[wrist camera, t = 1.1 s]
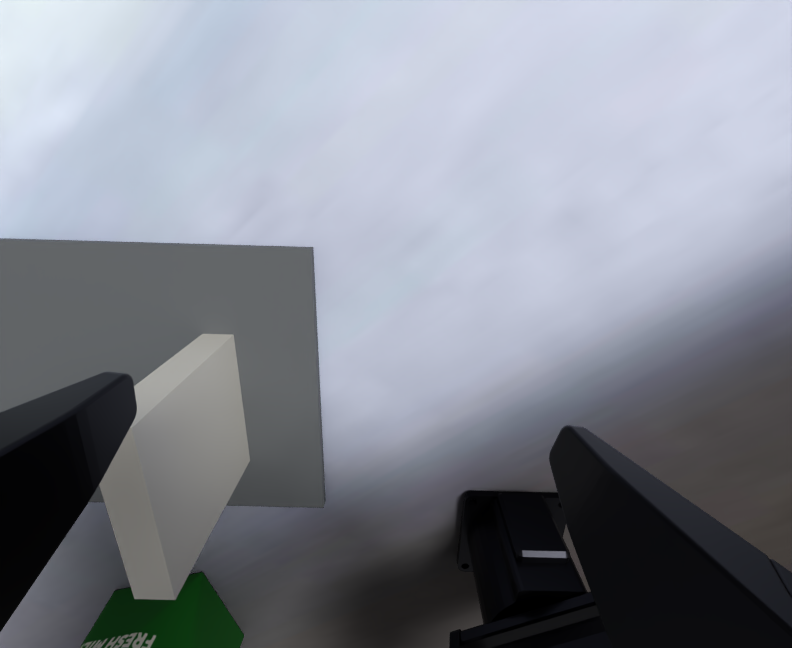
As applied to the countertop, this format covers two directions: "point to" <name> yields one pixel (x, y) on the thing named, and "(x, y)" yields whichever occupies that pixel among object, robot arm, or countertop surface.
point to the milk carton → (166, 620)
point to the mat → (175, 337)
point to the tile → (177, 465)
